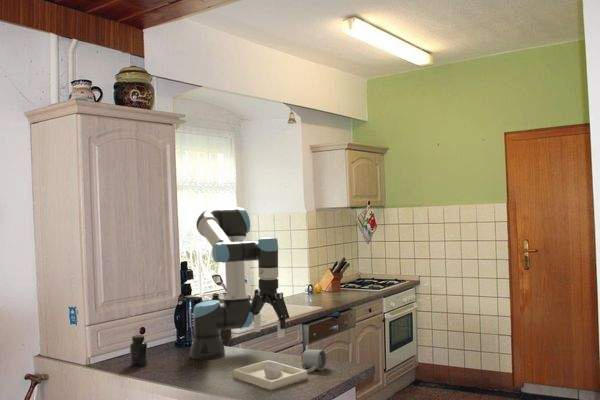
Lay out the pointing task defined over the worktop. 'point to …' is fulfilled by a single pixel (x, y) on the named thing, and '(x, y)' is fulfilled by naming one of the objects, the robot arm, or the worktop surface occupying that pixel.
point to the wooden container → (223, 333)
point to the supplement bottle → (138, 351)
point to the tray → (259, 378)
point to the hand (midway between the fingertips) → (269, 334)
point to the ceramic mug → (313, 360)
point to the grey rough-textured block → (272, 370)
